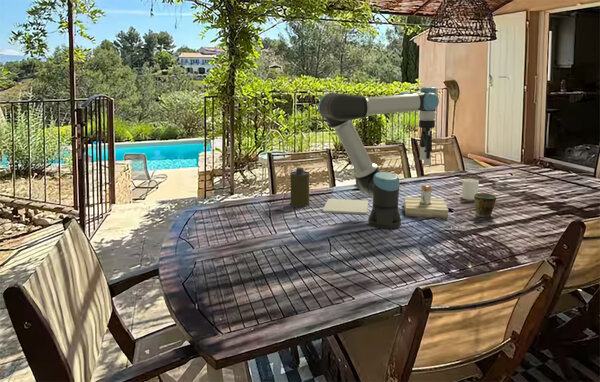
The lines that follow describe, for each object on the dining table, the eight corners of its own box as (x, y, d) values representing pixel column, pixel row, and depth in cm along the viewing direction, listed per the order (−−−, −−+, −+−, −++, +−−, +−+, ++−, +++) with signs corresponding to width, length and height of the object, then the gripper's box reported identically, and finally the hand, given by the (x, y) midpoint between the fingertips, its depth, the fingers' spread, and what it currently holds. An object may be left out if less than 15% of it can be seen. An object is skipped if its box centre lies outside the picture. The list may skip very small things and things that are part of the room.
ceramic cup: (476, 211, 225) (478, 192, 222) (497, 214, 219) (499, 195, 216) (467, 217, 215) (469, 197, 213) (488, 221, 209) (491, 201, 206)
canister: (307, 207, 233) (307, 170, 228) (288, 206, 235) (287, 169, 230) (311, 202, 243) (311, 166, 238) (292, 201, 245) (292, 165, 240)
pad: (366, 214, 221) (366, 212, 220) (322, 212, 225) (322, 210, 224) (368, 202, 242) (368, 200, 241) (328, 200, 246) (328, 198, 245)
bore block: (447, 217, 214) (448, 210, 213) (405, 215, 218) (405, 208, 217) (442, 206, 233) (443, 198, 232) (404, 204, 237) (404, 197, 236)
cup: (463, 199, 245) (465, 182, 242) (457, 194, 256) (459, 177, 254) (479, 200, 244) (480, 182, 242) (472, 194, 256) (474, 177, 253)
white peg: (430, 212, 223) (431, 187, 220) (420, 212, 224) (421, 187, 221) (429, 209, 228) (431, 185, 224) (419, 209, 228) (421, 184, 225)
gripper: (440, 122, 204) (437, 167, 209) (430, 117, 228) (427, 157, 233) (423, 122, 204) (421, 167, 210) (415, 117, 228) (413, 157, 234)
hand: (424, 162), depth 221 cm, fingers open, 13 cm apart
